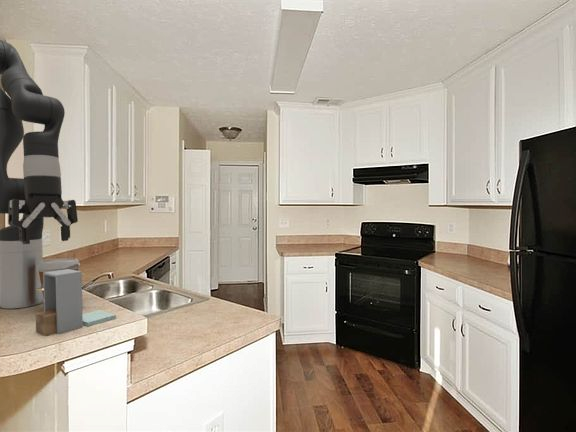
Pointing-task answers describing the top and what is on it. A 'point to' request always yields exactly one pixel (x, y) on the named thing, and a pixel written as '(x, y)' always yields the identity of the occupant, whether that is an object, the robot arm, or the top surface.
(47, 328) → the block
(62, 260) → the disposable coffee cup
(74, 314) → the cover
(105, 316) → the slab
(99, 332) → the top surface
